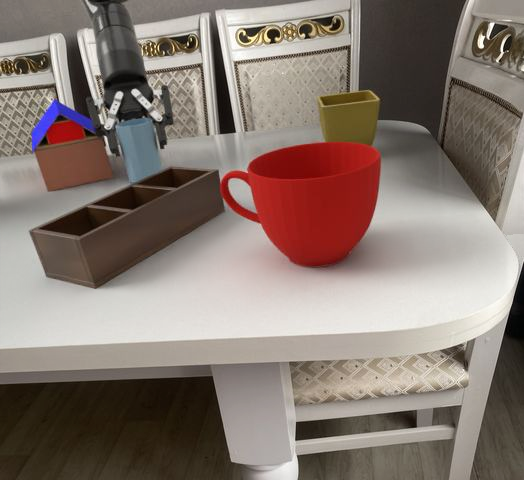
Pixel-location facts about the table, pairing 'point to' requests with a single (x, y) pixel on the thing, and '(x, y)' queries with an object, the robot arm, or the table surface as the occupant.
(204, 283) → the table surface
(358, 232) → the ceramic cup
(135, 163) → the blue cup
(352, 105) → the flower pot
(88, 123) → the house
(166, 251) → the table surface
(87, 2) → the robot arm
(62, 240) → the compartment box
